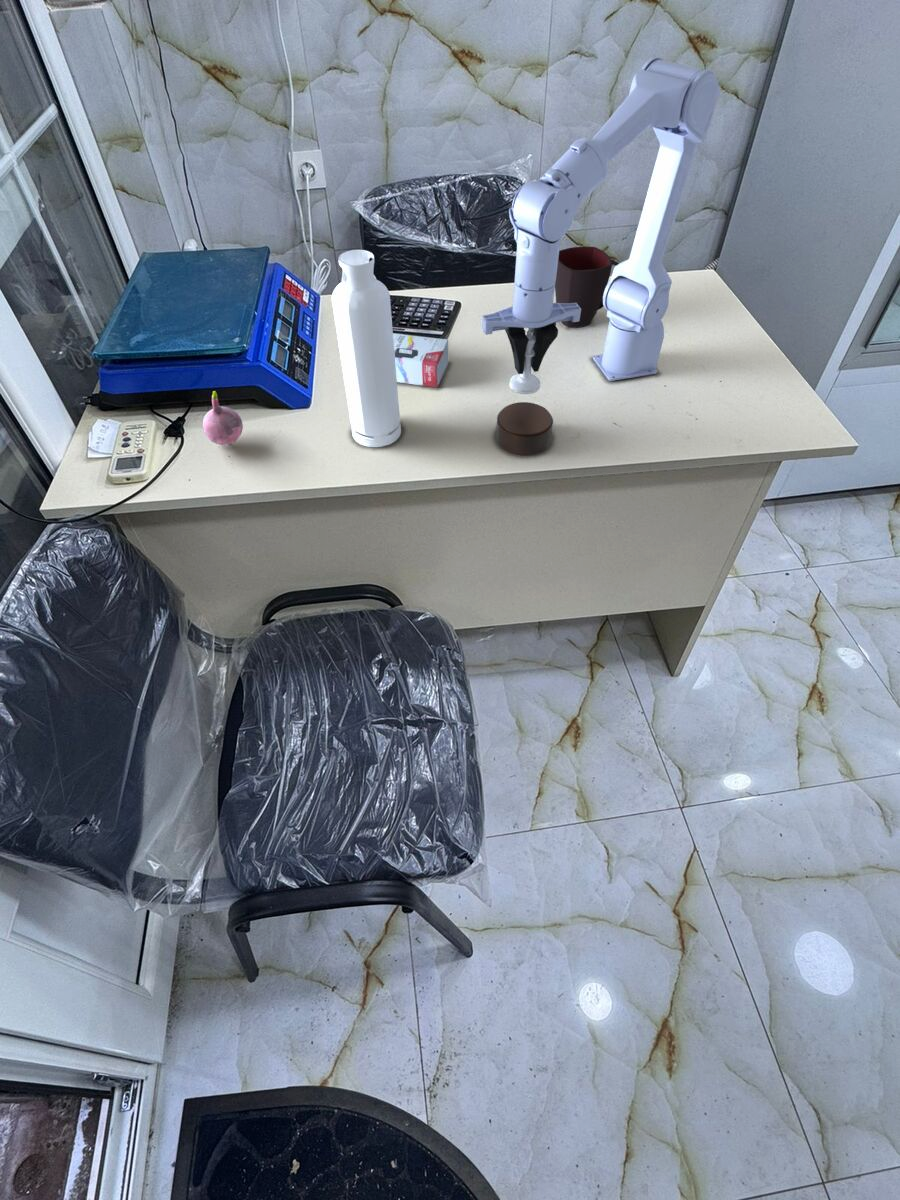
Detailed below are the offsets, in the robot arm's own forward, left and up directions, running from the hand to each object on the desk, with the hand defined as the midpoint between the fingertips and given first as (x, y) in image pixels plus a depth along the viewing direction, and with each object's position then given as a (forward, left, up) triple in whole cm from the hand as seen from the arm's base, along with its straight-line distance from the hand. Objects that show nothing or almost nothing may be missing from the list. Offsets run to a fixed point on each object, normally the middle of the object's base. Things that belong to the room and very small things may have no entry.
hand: (526, 369), depth 100 cm
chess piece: (0, 0, -3) cm, 3 cm away
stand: (+1, +4, -10) cm, 11 cm away
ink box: (+9, -17, -8) cm, 21 cm away
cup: (-23, -29, -10) cm, 38 cm away
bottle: (+24, -4, -10) cm, 26 cm away
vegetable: (+48, -7, -10) cm, 50 cm away
